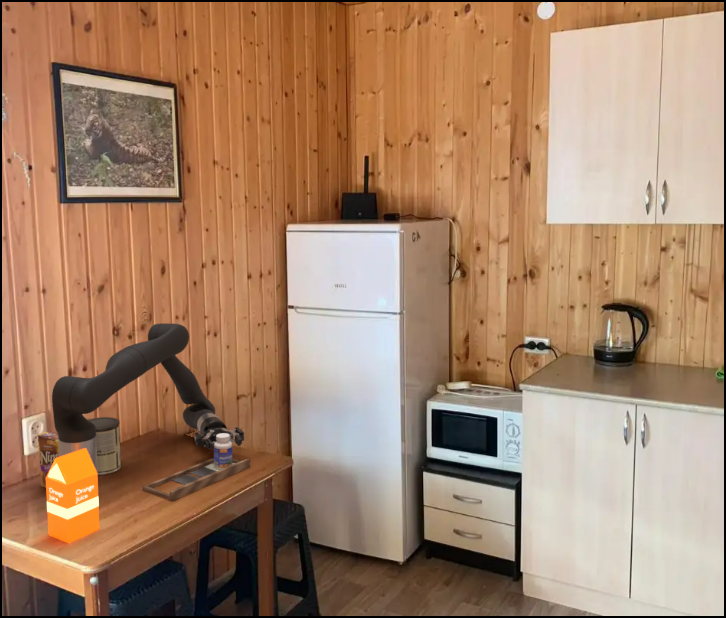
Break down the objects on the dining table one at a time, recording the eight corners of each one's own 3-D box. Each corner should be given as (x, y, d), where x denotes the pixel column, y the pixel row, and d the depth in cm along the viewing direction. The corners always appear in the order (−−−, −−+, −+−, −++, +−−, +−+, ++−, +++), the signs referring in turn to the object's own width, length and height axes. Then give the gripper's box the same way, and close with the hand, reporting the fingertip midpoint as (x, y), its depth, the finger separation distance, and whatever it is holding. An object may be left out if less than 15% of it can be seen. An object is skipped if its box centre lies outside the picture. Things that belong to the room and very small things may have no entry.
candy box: (39, 487, 202) (36, 434, 199) (53, 482, 205) (50, 429, 203) (61, 494, 197) (58, 440, 195) (74, 489, 201) (72, 435, 198)
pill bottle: (220, 471, 215) (219, 439, 213) (210, 465, 219) (210, 434, 217) (236, 467, 218) (235, 435, 217) (226, 461, 222) (226, 431, 221)
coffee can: (78, 467, 216) (76, 421, 214) (112, 459, 223) (110, 414, 221) (92, 478, 209) (90, 430, 206) (127, 469, 215) (125, 423, 213)
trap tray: (172, 501, 195) (172, 492, 194) (142, 490, 201) (142, 481, 201) (249, 466, 219) (249, 459, 219) (221, 458, 226) (220, 450, 225)
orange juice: (48, 535, 175) (43, 455, 171) (79, 521, 182) (76, 444, 179) (69, 543, 171) (65, 462, 167) (100, 529, 178) (97, 450, 175)
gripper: (188, 419, 226) (201, 435, 212) (233, 413, 232) (249, 429, 218) (189, 442, 228) (201, 460, 213) (233, 436, 234) (249, 453, 219)
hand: (225, 444), depth 216 cm, fingers open, 8 cm apart
